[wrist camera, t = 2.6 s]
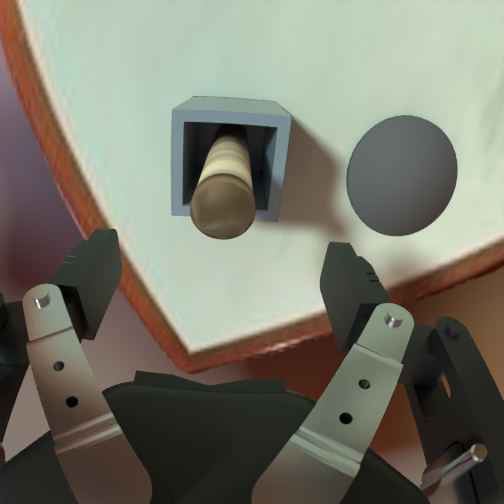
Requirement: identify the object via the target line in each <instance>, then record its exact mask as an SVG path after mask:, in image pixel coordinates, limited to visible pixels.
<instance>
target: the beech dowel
mask: <svg viewBox="0 0 504 504" xmlns="http://www.w3.org/2000/svg"><path fill="white" fill-rule="evenodd" d="M255 213H256V208H255V199H254V194H253V188H252V179H251V169H250V159H249V149H248V139H247V133H246V131H245V129H244V128H243V127H242V126H241V125H239V124H232V123H226V124H223V125H222V126H220V127H219V128H218V130H217V131H216V134H215V137H214V139H213V142H212V145H211V148H210V150H209V153H208V156H207V159H206V162H205V165H204V168H203V171H202V174H201V176H200V179H199V182H198V185H197V188H196V189H195V192H194V194H193V197H192V200H191V204H190V215H191V218H192V221H193V223H194V225H195V226H196V227H197V228H198V229H199V230H200V231H201V232H202V233H203V234H205V235H207V236H209V237H211V238H215V239H232V238H235V237H238V236H240V235H241V234H243V233H244V232H246V231H247V230H248V229H249V227H250V226H251V225H252V223H253V221H254V218H255Z"/></svg>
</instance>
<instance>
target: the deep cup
mask: <svg viewBox="0 0 504 504" xmlns="http://www.w3.org/2000/svg"><path fill="white" fill-rule="evenodd" d="M291 118H292V117H291V116H290V115H289V114H288V113H287V112H286V111H285V110H284V109H283V108H282V107H281V106H280V105H279V104H278V103H277V102H276V101H267V100H256V99H244V98H229V97H207V96H193V97H191V98H190V99H188V100H186V101H185V102H183V103H181V104H180V105H178V106H177V107H175V108H173V109H172V126H171V210H172V215H173V216H191V215H190V204H191V200H192V197H193V194H194V192H195V189H196V188H197V185H198V182H199V179H200V176H201V174H202V171H203V168H204V165H205V162H206V159H207V156H208V153H209V150H210V148H211V145H212V142H213V139H214V137H215V134H216V131H217V130H218V128H219V127H220V126H222V125H223V124H226V123H232V124H239V125H241V126H242V127H243V128H244V129H245V131H246V133H247V139H248V149H249V159H250V169H251V179H252V188H253V194H254V199H255V208H256V213H255V218H254V220H260V221H274V222H277V221H278V214H279V207H280V200H281V193H282V186H283V179H284V171H285V164H286V157H287V149H288V142H289V134H290V126H291Z"/></svg>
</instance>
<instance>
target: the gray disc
mask: <svg viewBox="0 0 504 504" xmlns="http://www.w3.org/2000/svg"><path fill="white" fill-rule="evenodd" d="M456 181H457V159H456V154H455V151H454V148H453V146H452V144H451V142H450V140H449V138H448V137H447V136H446V134H445V133H444V132H443V131H442V130H441V129H440V128H439V127H438V126H436V125H435V124H433V123H431V122H430V121H427V120H425V119H422V118H420V117H415V116H407V115H403V116H396V117H392V118H389V119H386V120H384V121H382V122H380V123H378V124H377V125H375V126H374V127H373V128H371V129H370V130H369V131H368V132H367V133H366V134H365V135H364V136H363V137H362V139H361V140H360V141H359V143H358V144H357V146H356V148H355V149H354V151H353V153H352V156H351V158H350V162H349V165H348V170H347V192H348V196H349V200H350V202H351V205H352V207H353V209H354V211H355V212H356V214H357V215H358V217H359V218H360V219H361V220H362V222H364V223H365V224H366V225H367V226H368V227H369V228H371V229H372V230H374V231H376V232H378V233H381V234H384V235H390V236H402V235H408V234H412V233H415V232H417V231H419V230H421V229H423V228H425V227H427V226H428V225H430V224H431V223H432V222H433V221H434V220H436V219H437V218H438V217H439V216H440V214H441V213H442V212H443V211H444V209H445V208H446V206H447V205H448V203H449V201H450V199H451V197H452V195H453V192H454V189H455V185H456Z"/></svg>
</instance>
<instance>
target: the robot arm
mask: <svg viewBox="0 0 504 504" xmlns="http://www.w3.org/2000/svg"><path fill="white" fill-rule="evenodd" d="M121 273H122V262H121V256H120V249H119V242H118V235H117V231H116V230H115V229H106V228H96V229H95V230H94V232H93V233H92V235H91V236H90V237H89V239H88V240H83V241H82V242H81V243H79V244H78V245H76V246H75V247H74V248H73V249H72V250H71V252H70V253H69V255H68V257H67V258H66V259H65V260H64V262H63V263H62V264H61V266H60V267H59V269H58V270H57V272H56V273H55V274H54V276H53V277H52V279H51V280H50V282H49V283H48V284H43V285H39V286H36V287H34V288H32V289H31V290H30V291H28V293H26V295H25V297H24V299H23V301H17V302H10V303H6V302H5V299H4V297H3V295H2V294H1V292H0V504H504V401H503V398H502V396H501V394H500V392H499V390H498V388H497V386H496V384H495V382H494V379H493V377H492V375H491V373H490V371H489V369H488V367H487V365H486V363H485V361H484V360H483V357H482V356H481V354H480V352H479V350H478V348H477V346H476V344H475V343H474V341H473V339H472V337H471V335H470V334H469V332H468V330H467V329H466V327H465V326H464V325H463V324H462V323H461V322H459V321H458V320H456V319H454V318H451V317H440V318H439V319H438V320H437V321H436V323H435V325H434V326H433V327H430V326H425V325H421V324H417V323H414V320H413V317H412V316H411V314H410V313H409V312H408V311H407V310H405V309H404V308H403V307H401V306H399V305H396V304H392V302H391V300H390V299H389V297H388V295H387V293H386V291H385V289H384V287H383V286H382V284H381V282H379V278H378V277H377V275H375V274H376V273H375V271H374V269H373V268H372V266H371V264H370V263H368V262H367V261H366V260H365V259H364V258H363V257H361V256H357V255H356V253H355V251H354V249H353V248H352V246H351V244H350V243H342V242H330V243H329V245H328V248H327V252H326V256H325V260H324V264H323V268H322V272H321V276H320V291H321V294H322V297H323V301H324V304H325V307H326V310H327V313H328V317H329V320H330V323H331V326H332V330H333V333H334V336H335V340H336V343H337V347H338V350H339V353H340V355H347V357H346V358H345V360H344V362H343V363H342V365H341V366H340V368H339V370H338V371H337V373H336V374H335V376H334V378H333V379H332V381H331V383H330V384H329V385H328V387H327V389H326V390H325V392H324V393H323V395H322V396H321V398H320V399H319V401H318V402H315V401H314V400H312V399H310V398H308V397H306V396H304V395H302V394H299V393H296V392H293V391H289V390H286V384H285V379H246V380H240V381H235V382H229V383H223V384H217V385H205V384H201V383H198V382H194V381H191V380H188V379H184V378H181V377H178V376H175V375H171V374H161V373H152V372H143V371H136V374H135V378H134V381H130V382H125V383H121V384H117V385H114V386H112V387H109V388H107V389H105V390H103V391H102V392H101V390H100V388H99V386H98V384H97V382H96V380H95V377H94V375H93V373H92V371H91V369H90V367H89V364H88V362H87V360H86V357H85V355H84V353H83V350H82V348H81V345H80V343H81V341H82V339H87V340H94V339H95V336H96V333H97V331H98V328H99V326H100V324H101V322H102V319H103V317H104V315H105V312H106V310H107V307H108V305H109V303H110V301H111V298H112V296H113V294H114V292H115V290H116V287H117V285H118V283H119V281H120V278H121ZM29 364H31V369H32V373H33V377H34V380H35V384H36V388H37V391H38V394H39V398H40V401H41V405H42V408H43V411H44V414H45V417H46V419H47V423H48V426H49V428H50V430H49V431H48V432H46V433H45V434H44V435H43V436H41V437H40V438H38V439H37V440H36V441H34V442H33V443H32V444H30V445H29V446H28V447H26V448H25V449H24V450H22V451H21V452H19V453H18V454H17V455H15V456H14V457H13V458H11V459H10V460H9V461H7V462H6V461H5V451H4V448H3V445H2V442H3V438H4V435H5V431H6V428H7V425H8V422H9V418H10V415H11V412H12V409H13V406H14V403H15V401H16V398H17V395H18V392H19V390H20V387H21V384H22V381H23V379H24V376H25V374H26V371H27V369H28V366H29ZM444 376H445V377H446V379H447V382H448V384H449V387H450V390H451V395H450V399H449V397H448V394H447V392H446V389H445V387H444V384H443V381H442V379H443V377H444ZM396 383H402V384H404V387H405V390H406V393H407V396H408V399H409V402H410V406H411V409H412V412H413V416H414V419H415V423H416V426H417V429H418V433H419V437H420V440H421V444H422V448H423V452H424V456H425V460H426V464H427V467H426V468H425V470H424V471H423V474H422V480H421V481H422V484H421V485H420V488H418V487H417V486H416V485H415V484H414V483H412V482H411V481H410V480H408V479H407V478H406V477H405V476H403V475H402V474H401V473H400V472H398V471H397V470H396V469H395V468H394V467H392V466H391V465H390V464H389V463H387V462H386V461H385V460H384V459H382V458H381V457H380V456H379V455H378V454H376V453H375V452H374V451H373V450H372V449H371V448H369V447H368V446H369V444H370V442H371V440H372V437H373V436H374V434H375V432H376V430H377V427H378V426H379V423H380V421H381V419H382V417H383V414H384V412H385V410H386V408H387V405H388V403H389V401H390V398H391V396H392V393H393V391H394V389H395V386H396Z"/></svg>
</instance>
